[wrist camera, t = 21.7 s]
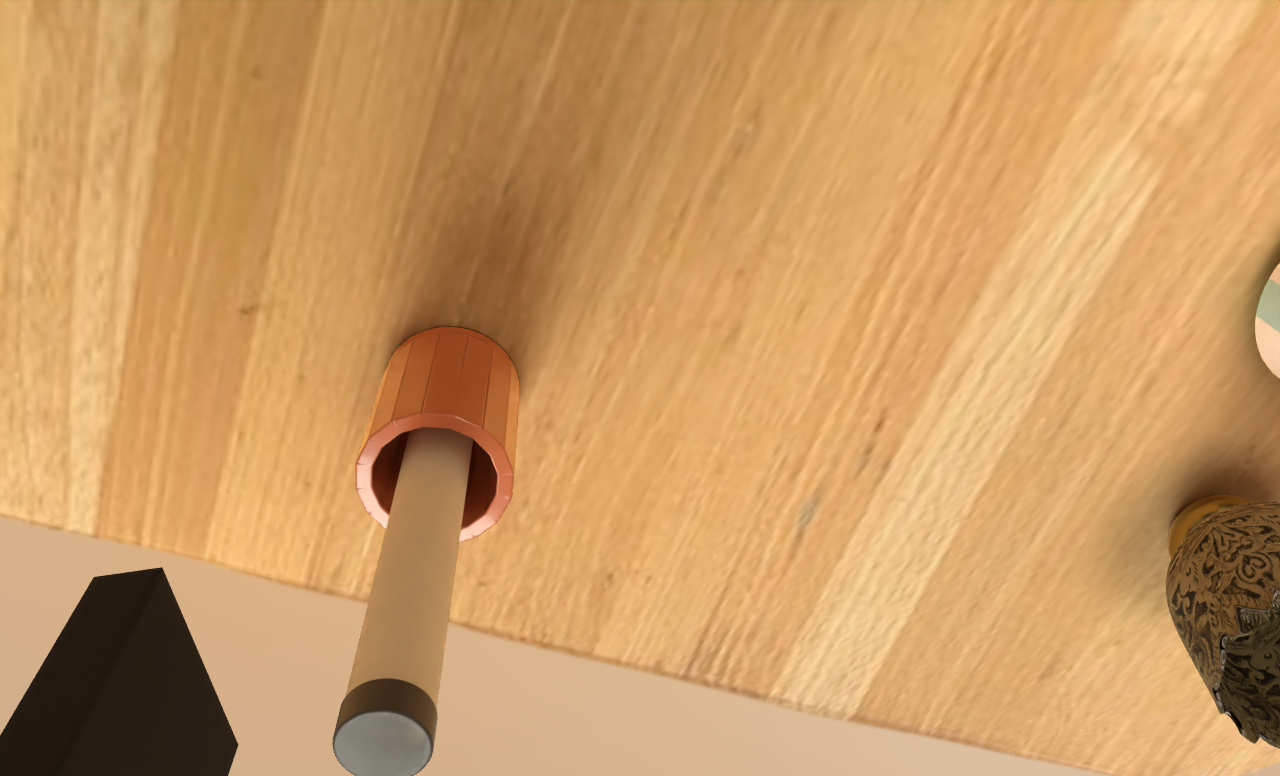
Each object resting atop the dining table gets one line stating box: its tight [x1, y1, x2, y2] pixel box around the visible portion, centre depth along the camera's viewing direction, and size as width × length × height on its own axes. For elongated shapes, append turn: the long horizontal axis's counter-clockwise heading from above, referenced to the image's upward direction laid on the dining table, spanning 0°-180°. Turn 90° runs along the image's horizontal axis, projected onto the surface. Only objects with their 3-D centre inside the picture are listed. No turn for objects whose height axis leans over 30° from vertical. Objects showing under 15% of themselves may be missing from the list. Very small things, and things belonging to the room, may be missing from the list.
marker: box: [333, 427, 473, 776], centre depth 31 cm, size 2×2×16 cm
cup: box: [1166, 494, 1280, 749], centre depth 39 cm, size 8×7×8 cm
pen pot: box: [355, 327, 520, 542], centre depth 35 cm, size 5×5×6 cm
